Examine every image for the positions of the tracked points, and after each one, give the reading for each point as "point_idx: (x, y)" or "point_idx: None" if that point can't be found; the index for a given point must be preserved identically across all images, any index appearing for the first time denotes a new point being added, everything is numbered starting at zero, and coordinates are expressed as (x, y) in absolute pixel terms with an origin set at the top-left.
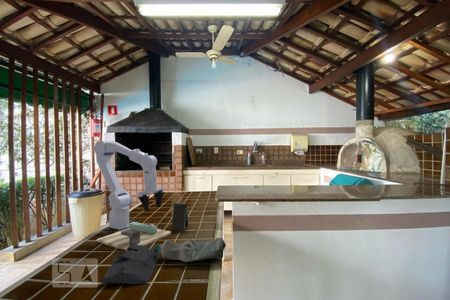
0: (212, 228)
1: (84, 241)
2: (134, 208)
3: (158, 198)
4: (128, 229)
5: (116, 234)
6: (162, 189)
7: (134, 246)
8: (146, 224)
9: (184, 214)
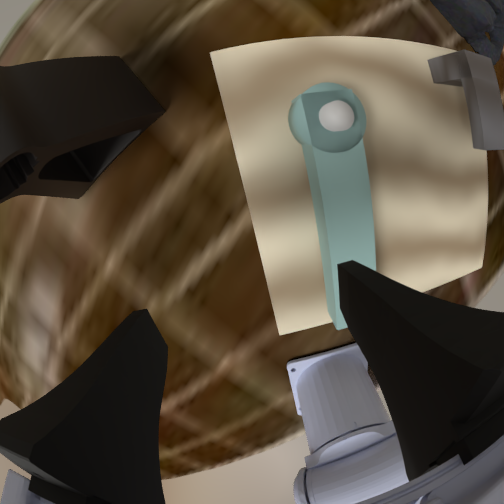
0: (27, 26)
1: (480, 295)
2: (175, 477)
3: (119, 415)
4: (486, 141)
5: (432, 266)
6: (16, 501)
7: (480, 3)
8: (327, 208)
9: (40, 64)
